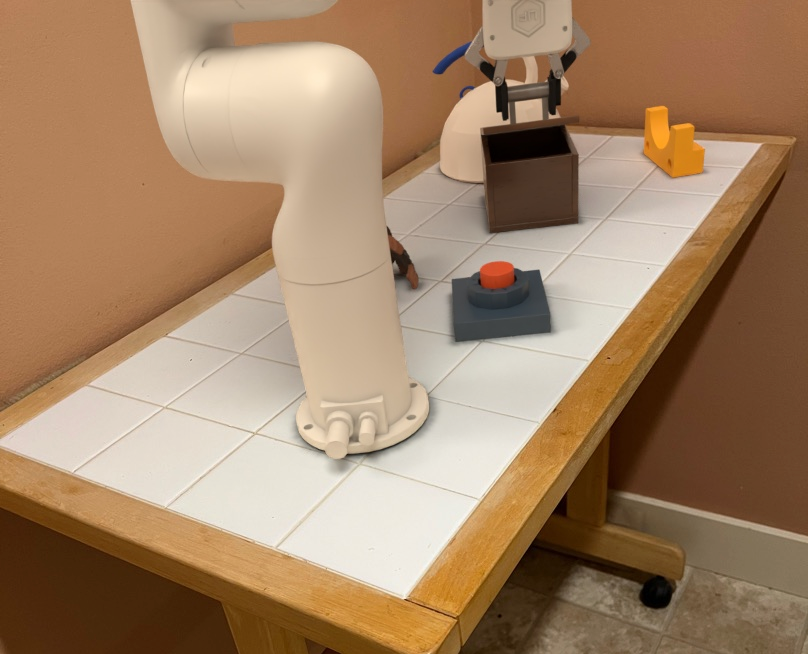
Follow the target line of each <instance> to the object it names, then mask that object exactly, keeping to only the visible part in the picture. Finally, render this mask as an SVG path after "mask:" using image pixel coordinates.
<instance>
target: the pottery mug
mask: <svg viewBox="0 0 808 654" xmlns="http://www.w3.org/2000/svg"><path fill="white" fill-rule="evenodd" d="M386 226H387V233H388V241H389V248H390V255H391V261H392V266H393V265H394V263H395V264H396V265H397V268H398V271H399V273H400V274H401V275H403V274H406V276H405V277H406V279H407V281H409V282H410V286H411V289H413V290H416V289H417V288H418V285H419V275H418V273H417V271H416V267H415V265H414V262H413V261H412V259H411V257H410V255H409V254H408V251H407V250H406V249H405V247H404V245H403V244H402V243H400V241H399V240H397V239H396V238H395V237H394V236H393V232H392V231H391V228H390V227H389V226H388V225H387V224H386Z"/></svg>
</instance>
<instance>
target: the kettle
mask: <svg viewBox="0 0 808 654" xmlns="http://www.w3.org/2000/svg"><path fill="white" fill-rule="evenodd" d="M472 41H473V40H472ZM472 41H469V42H467V43H465V44H462V45H461V46H459V47H456V48H455V49H454V50H453V51H451V52H450V53H448V54H447V55H445V56H444V57H443V58H442V59H441V60H440V61H438V62H437V64H436V66H435V67H434V68H433V70H432V73H433V74H434V75H443V74H444V73H445V72H446V71H447V69H448V68H449V67H451V65H453V63H455V62H457V60H460V59H461V58H462V57H465V52H466V51H467V49H468V47H469V46H470V44H471V43H472ZM482 48H484V45H483V47H482ZM522 60H523V61H524V62H523V63H524V66H525V71H526V72H525V73H526V74H525V75H526V78H525V81H524V82H523V81H519V80H515V79H509V78H507V79H506V78H505V82H507V86H508V87H509V86H516V85H524V84H531V83H538V80H539V67H538V63H537V61H536V56H531V57H523V58H522ZM546 81H547V79H546V80H545V81H544V82H546ZM569 87H570V85H569V82H568V80H567V79H566V77H565V76H564V75H563V77H562V78H561V96H562V95H563V94H564V93H565V92H567V91H568V90H569ZM467 90H469V91H468V92H467V93H466V94H465V95H464V93H465V91H467ZM459 99H460V100H459V101H458V102H457V103H455V105H454V107H453V108H452V110H451V112H450V114H449V115H448V117H447V118H446V121H445V122H444V126H443V128H442V132H441V135H440V138H439V159H440V160H439V163H440V164H439V169H440V171H441V172H442V174H443V175H445V176H447V177H448V178H449V179H452V180H455V181H458V182H464V183H471V184H472V183H473V184H484V180H483V165H482V150H481V134H480V128H483V127H491V126H498V125H506V124H510V112H509V119H507V121H503V119H502V112H499V113H497V112H496V95H495V85H494V83H493V82H492V81H491V80H489V81H487V82H485V83H482V84H481V85H479V86H476V87H475V86H473V85H467V86H464V87H463V88H462V89H461V90H460V92H459ZM508 111H509V103H508ZM515 111H516V123H522V122H530V121H537V120H543V117H542V99H534V100H527V101H519V102H515ZM561 117H562V116H561V114H560V112H559V110H558V109H557V108H556V115H551V114H549V119H553V118H561Z"/></svg>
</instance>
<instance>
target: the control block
mask: <svg viewBox="0 0 808 654" xmlns="http://www.w3.org/2000/svg"><path fill="white" fill-rule="evenodd" d="M451 292H452V293H451V297H452V320H453V323H452V324H453V332H454V342H455V343H460V342H471V341H472V342H473V341H481V340H490V339H491V340H492V339H500V338H509V337H520V336H530V335H539V334H549V333H551V332H552V324H551V311H550V310H551V309H550V306H549V303H548V298H547V294H546V290H545V287H544V282H543V278H542V274H541V270H540V269H531V270H522V269H520V268H517V267H514V284H513V285H510V286H508V287H505V288H498V289H490V288H484V287H482V286H481V280H480V270H479V271H476V272H474V273H472V275H471V276H466V277H458V278H451Z"/></svg>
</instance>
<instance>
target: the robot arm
mask: <svg viewBox="0 0 808 654" xmlns="http://www.w3.org/2000/svg"><path fill="white" fill-rule="evenodd" d="M338 1H339V0H130V4H131V9H132V14H133V19H134V22H135V28H136V33H137V38H138V41H139V42H138V43H139V47H140V51H141V55H142V60H143V66H144V70H145V73H146V78H147V83H148V87H149V93H150V96H151V101H152V105H153V109H154V113H155V117H156V121H157V124H158V126H159V131H160V133H161V136H162V138H163V141H164V143H165V145H166V148H167V149H168V151H169V153H170V154H171V156H172V158H174V160H175V161H176V162H177V164H178V165H179V166H180V167H182V169H184V170H185V171H186V172H187V173H189V174H191V175H193V176H194V177H195V176H196V177H198V178H201V179H203V180H204V179H205V180H210V181H220V182H221V181H222V182H223V181H224V182H238V183H239V182H240V183H266V184H274V185H280V186H281V187H282V188H283V199H282V203H281V206H280V209H279V211H278V214H277V215H276V219H275V221H274V224H273V229H272V232H271V233H272V234H271V250H272V255H273V256H272V257H273V260H274V265H275V269H276V273H277V277H278V281H279V285H280V290H281V293H282V297H283V301H284V305H285V309H286V314H287V319H288V323H289V326H290V330H291V335H292V339H293V343H294V349H295V350H296V356H297V361H298V364H299V368H300V372H301V376H302V380H303V385H304V389H305V392H306V396H305V397H304V398H303V400H302V401H301V402H300V404H299V405H298V407H297V409H296V413H295V423H296V427H297V429H298V433H299V435H300V436H301V438H302V439H303V440H304V441H305V442H306V443H308V444H309V445H310V446H312V447H313V448H317V449H319V450H322V451H324V452H325V454H326V455H327V456H328V457H329V458H330V459H333V460H341V459H343V458H345V457H346V455H347V454H350V455H354V454H365V453H371V452H374V451H379V450H383V449H386V448H388V447H392V446H394V445H396V444H398V443H400V442H402V441H404V440H406V439H408V438H409V437H410V436H412V435H413V434H414V433H416V432H417V430H419V429H420V428H422V426H423V424H424V423H425V422H426V420H427V418H428V416H429V412H430V401H429V395H428V392H427V390H426V389H425V387H424V385H422V384H421V383H420V382H419V381H417V380H415V379H413V378H412V377H410V376H409V372H408V366H407V358H406V352H405V345H404V338H403V331H402V323H401V318H400V311H399V304H398V297H397V290H396V283H395V277H394V276H395V275H394V270H393V265H392V261H391V255H390V248H389V241H388V233H387V226H388V225H387V218H386V210H385V202H384V201H385V200H384V189H383V188H384V187H383V142H384V141H383V140H384V139H383V137H384V105H383V95H382V89H381V87H380V83H379V80H378V77H377V75H376V73H375V71H374V69H373V68H372V67H371V65H370V64H369V63H368V62H367V60H365V58H364V57H362V56H361V55H360V54H358V53H357V52H356V51H354V50H352V49H350V48H348V47H346V46H343V45H340V44H336V43H331V42H325V41H317V40H316V41H315V40H304V41H303V40H299V41H281V42H280V41H279V42H261V43H259V42H258V43H256V44H244V45H243V44H241V45H236V42H235V33H234V24H235V25H237V24H250V23H264V22H265V23H266V22H277V21H289V20H296V19H304V18H308V17H311V16H317V15H319V14H321V13H323V12H326V11H328V10H329V9H331V8H332V7H333V6H334V5H336V4H337V3H338ZM481 3H482V4H481V5H482V12H481V13H482V25H481V27H480V28H479V29H478V31H477V33H476V35H475V36H474V38H473V39H472V43H471V44H470V46H469V47H468V49H467V51H466V52H465V55H464V59H465V61H466V62H467V63H469V64H471V65H472V66H473V67H474V68H476V69H478V70H479V71H480V72H481V73H482V74H483V75H484V76H485V77H486V78H487V79H489V81H492V82H493V83H494V85H495V95H496V112H497V113H499V112H502V119H503V121H507V119H509V111H508V86H507V82H505V79H506V77H505V74H506V71H507V67H508V64H509V63H508V62H509V60H513V59H523V57H531V56H534V57H539V56H546V57H547V61H548V63H549V66H550V70H549V74H548V76H547V78H546V80H547V81H548V82H549V98H548V111H549V114H551V115H556V109H557V107H558V106H561V105H562V95H561V78H562V77H563V76H564V75H565V73H567V71H568V70H569V68H571V66H572V65H573V64H574V62H575V61H576V59H578V58H579V56H581V54H582V53H583V52H585V51H586V50H587V48H588V47H589V46H591V42H592V41H591V38H590V36H589V35H588V34H587V33H586V32H585V31H584V29H583V28H582V26H581V25H580V24H579V23H578V22H577V20H576V19H575V18H574V17H573V4H572V3H573V1H572V0H482V2H481ZM573 38H574V42H573V44H572V40H573ZM571 44H572V45H571ZM483 45H484V47H483ZM482 48H483V49H484V52H485V54H486V56H487V57H488V58H490V59H492V60H495V61H494V64H492V63H491V62H490V61H489V60H488V59H485V57H483V56H482V55H481V54H480V51H481V50H482ZM562 52H564V53H563V54H562V55H560V53H562ZM386 225H387V226H386Z"/></svg>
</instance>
